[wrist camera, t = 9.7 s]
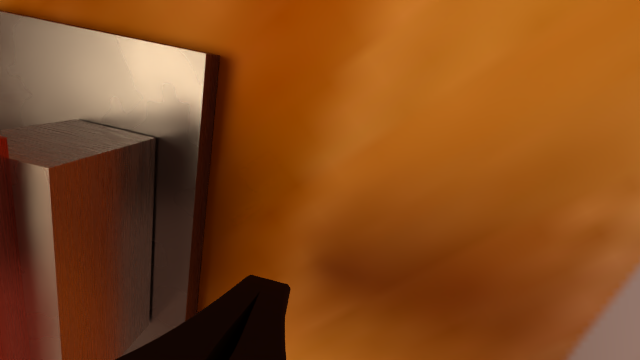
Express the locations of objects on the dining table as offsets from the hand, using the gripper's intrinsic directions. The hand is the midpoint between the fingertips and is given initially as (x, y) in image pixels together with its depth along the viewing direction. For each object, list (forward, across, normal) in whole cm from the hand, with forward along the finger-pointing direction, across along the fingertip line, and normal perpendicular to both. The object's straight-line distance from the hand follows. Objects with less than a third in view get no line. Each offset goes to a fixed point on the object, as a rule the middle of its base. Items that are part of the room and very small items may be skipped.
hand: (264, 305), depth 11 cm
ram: (+2, +7, 0) cm, 7 cm away
